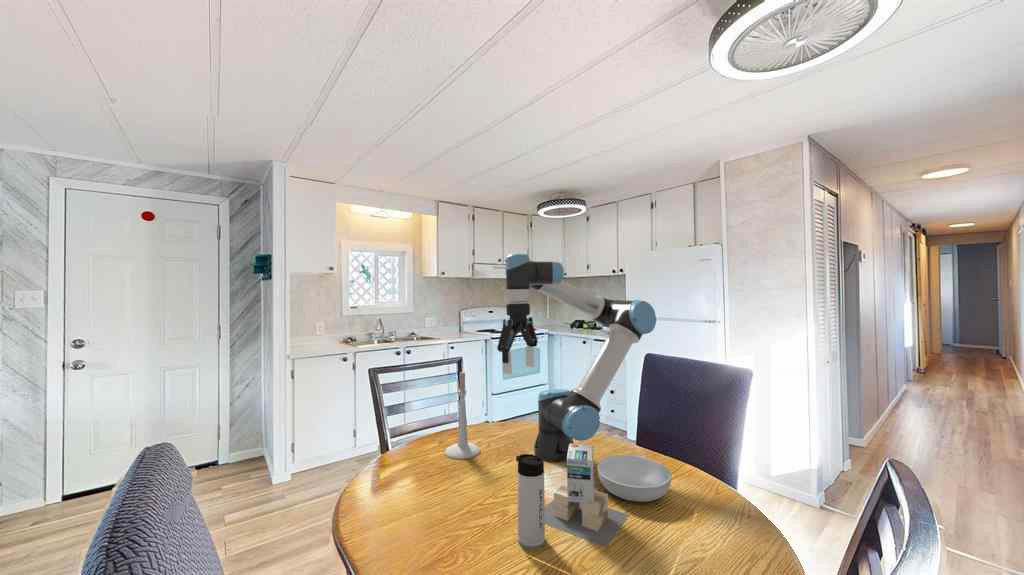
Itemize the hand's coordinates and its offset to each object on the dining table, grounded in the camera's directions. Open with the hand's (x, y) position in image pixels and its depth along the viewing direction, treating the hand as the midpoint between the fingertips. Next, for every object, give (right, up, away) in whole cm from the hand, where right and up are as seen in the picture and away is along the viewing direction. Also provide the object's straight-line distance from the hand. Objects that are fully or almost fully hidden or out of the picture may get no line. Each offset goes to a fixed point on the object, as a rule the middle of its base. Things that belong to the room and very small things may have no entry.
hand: (519, 369), depth 124 cm
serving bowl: (+33, -34, -9) cm, 49 cm away
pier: (+19, -33, -25) cm, 46 cm away
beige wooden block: (+12, -34, -20) cm, 41 cm away
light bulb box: (+16, -28, -22) cm, 39 cm away
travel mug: (+2, -34, -32) cm, 47 cm away
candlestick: (-21, -35, +21) cm, 46 cm away
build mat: (+16, -34, -23) cm, 44 cm away
